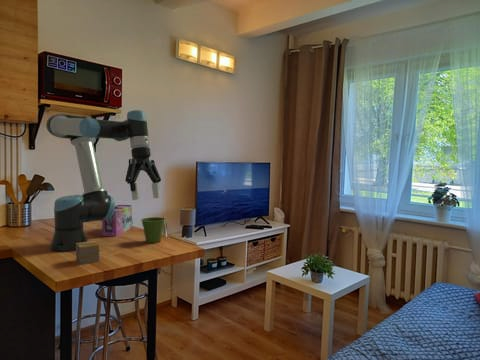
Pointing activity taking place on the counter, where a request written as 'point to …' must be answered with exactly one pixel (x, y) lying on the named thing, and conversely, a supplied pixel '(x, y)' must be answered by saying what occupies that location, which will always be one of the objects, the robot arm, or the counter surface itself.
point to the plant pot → (153, 228)
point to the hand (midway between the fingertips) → (146, 198)
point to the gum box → (118, 221)
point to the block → (87, 252)
